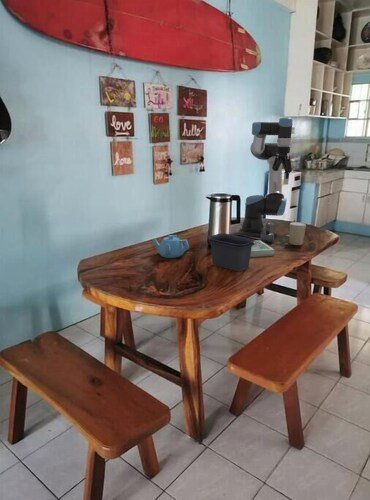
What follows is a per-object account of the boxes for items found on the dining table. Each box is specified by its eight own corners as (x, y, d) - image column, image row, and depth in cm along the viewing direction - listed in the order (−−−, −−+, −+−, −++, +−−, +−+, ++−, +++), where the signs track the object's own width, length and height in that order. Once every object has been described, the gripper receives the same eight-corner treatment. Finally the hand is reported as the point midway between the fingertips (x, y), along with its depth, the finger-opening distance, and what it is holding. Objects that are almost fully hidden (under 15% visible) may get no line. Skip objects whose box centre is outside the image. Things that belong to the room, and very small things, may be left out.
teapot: (166, 261, 188) (166, 240, 185) (151, 253, 200) (151, 234, 197) (190, 256, 196) (191, 236, 193) (175, 249, 208) (175, 230, 205)
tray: (229, 247, 213) (229, 241, 212) (259, 245, 217) (260, 240, 216) (240, 257, 195) (241, 251, 194) (274, 255, 199) (274, 249, 198)
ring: (238, 247, 210) (238, 241, 209) (256, 246, 212) (256, 240, 211) (245, 253, 199) (245, 247, 198) (264, 252, 202) (264, 246, 201)
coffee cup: (302, 241, 226) (304, 222, 223) (305, 245, 217) (307, 225, 214) (286, 240, 227) (288, 221, 223) (289, 245, 218) (291, 225, 215)
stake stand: (258, 240, 227) (259, 222, 224) (270, 239, 229) (271, 221, 226) (263, 244, 220) (265, 225, 216) (275, 243, 222) (277, 224, 218)
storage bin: (204, 264, 184) (205, 237, 179) (222, 257, 195) (223, 231, 190) (240, 275, 170) (242, 245, 166) (258, 267, 181) (260, 239, 177)
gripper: (268, 145, 225) (265, 180, 231) (287, 146, 202) (284, 185, 208) (279, 145, 227) (276, 180, 233) (300, 146, 203) (296, 185, 210)
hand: (280, 183), depth 220 cm, fingers open, 13 cm apart
